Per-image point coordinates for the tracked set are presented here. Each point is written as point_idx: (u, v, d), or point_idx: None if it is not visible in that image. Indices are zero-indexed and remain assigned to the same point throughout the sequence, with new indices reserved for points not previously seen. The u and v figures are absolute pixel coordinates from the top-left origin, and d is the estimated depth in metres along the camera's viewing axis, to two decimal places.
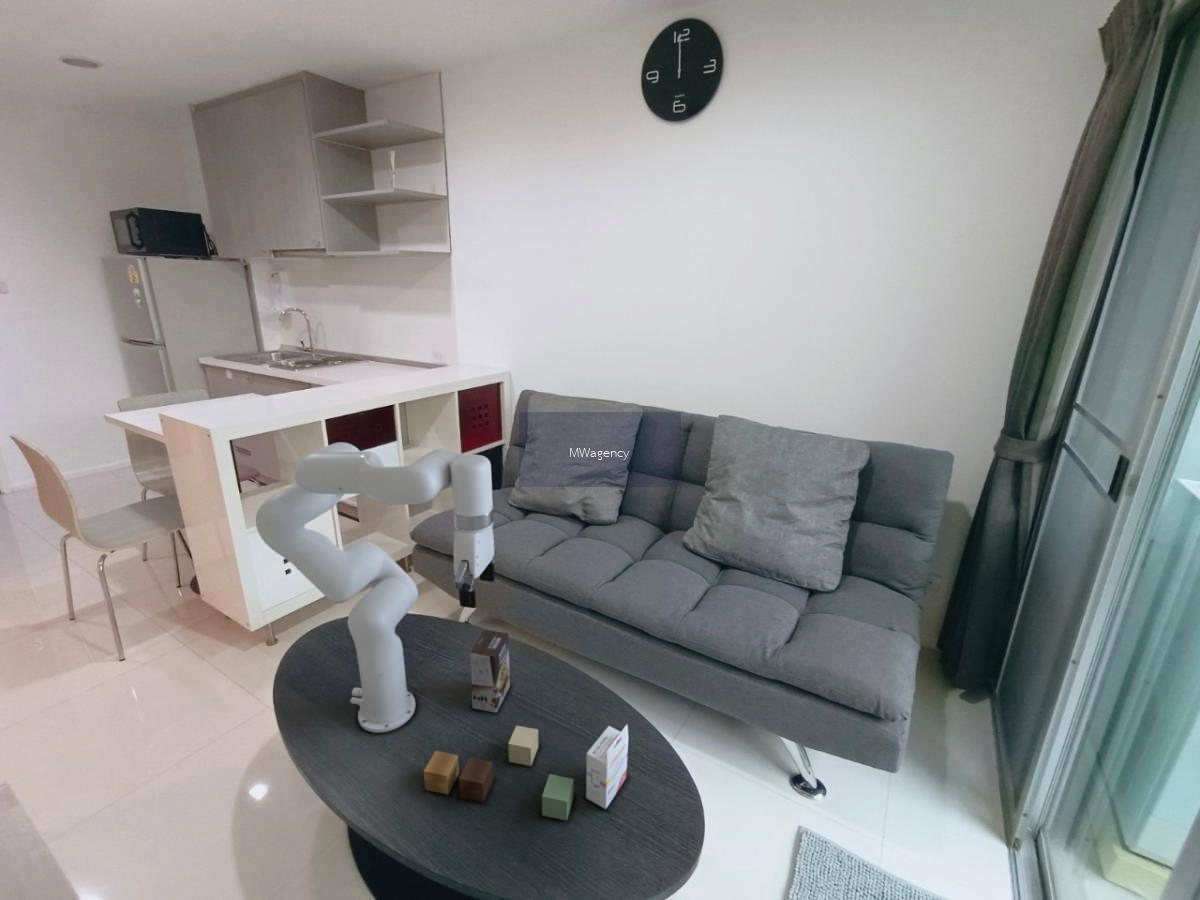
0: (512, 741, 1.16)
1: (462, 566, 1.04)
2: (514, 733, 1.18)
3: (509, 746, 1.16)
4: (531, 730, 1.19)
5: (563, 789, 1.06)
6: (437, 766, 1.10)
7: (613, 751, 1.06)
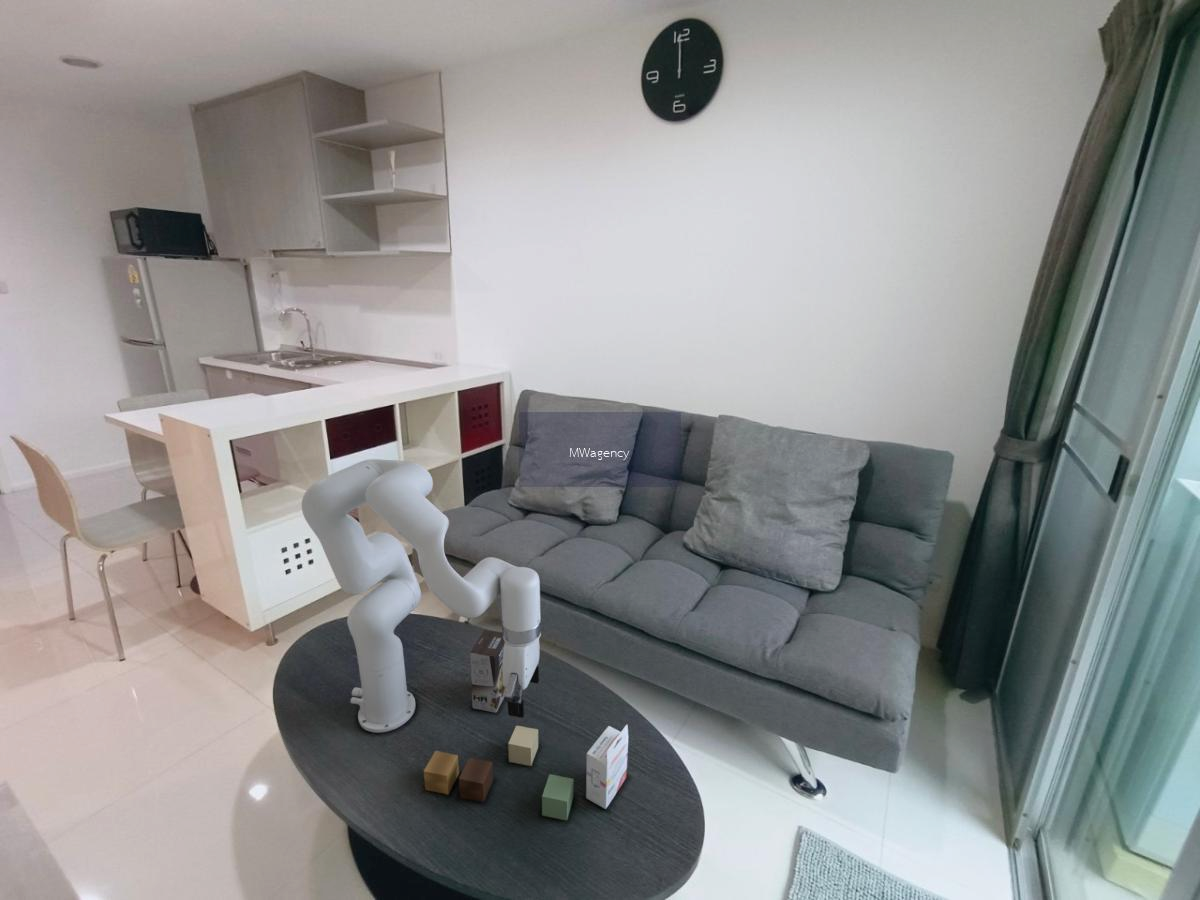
0: (512, 741, 1.16)
1: (512, 680, 1.06)
2: (514, 733, 1.18)
3: (509, 746, 1.16)
4: (531, 730, 1.19)
5: (563, 789, 1.06)
6: (437, 766, 1.10)
7: (613, 751, 1.06)
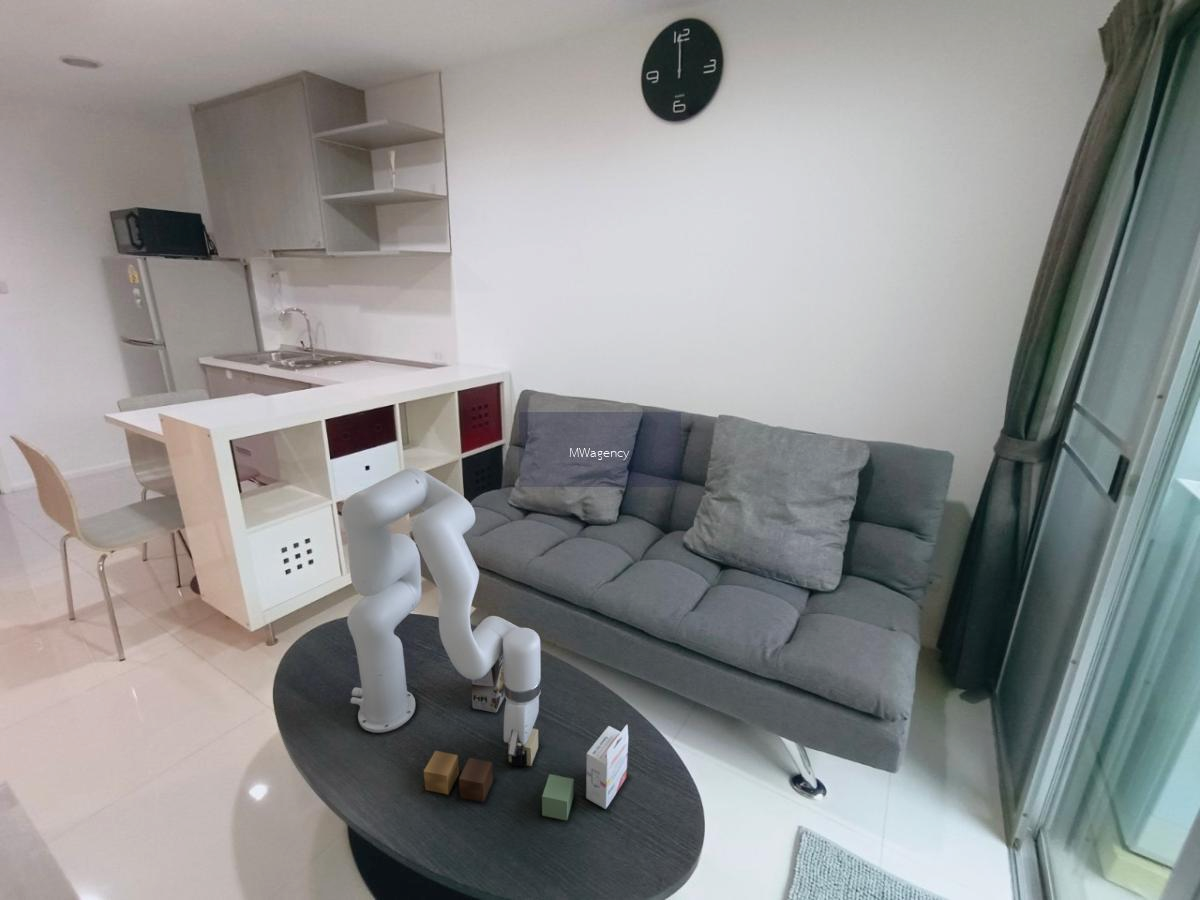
0: None
1: (513, 739, 1.11)
2: None
3: (509, 746, 1.16)
4: None
5: (563, 789, 1.06)
6: (437, 766, 1.10)
7: (613, 751, 1.06)
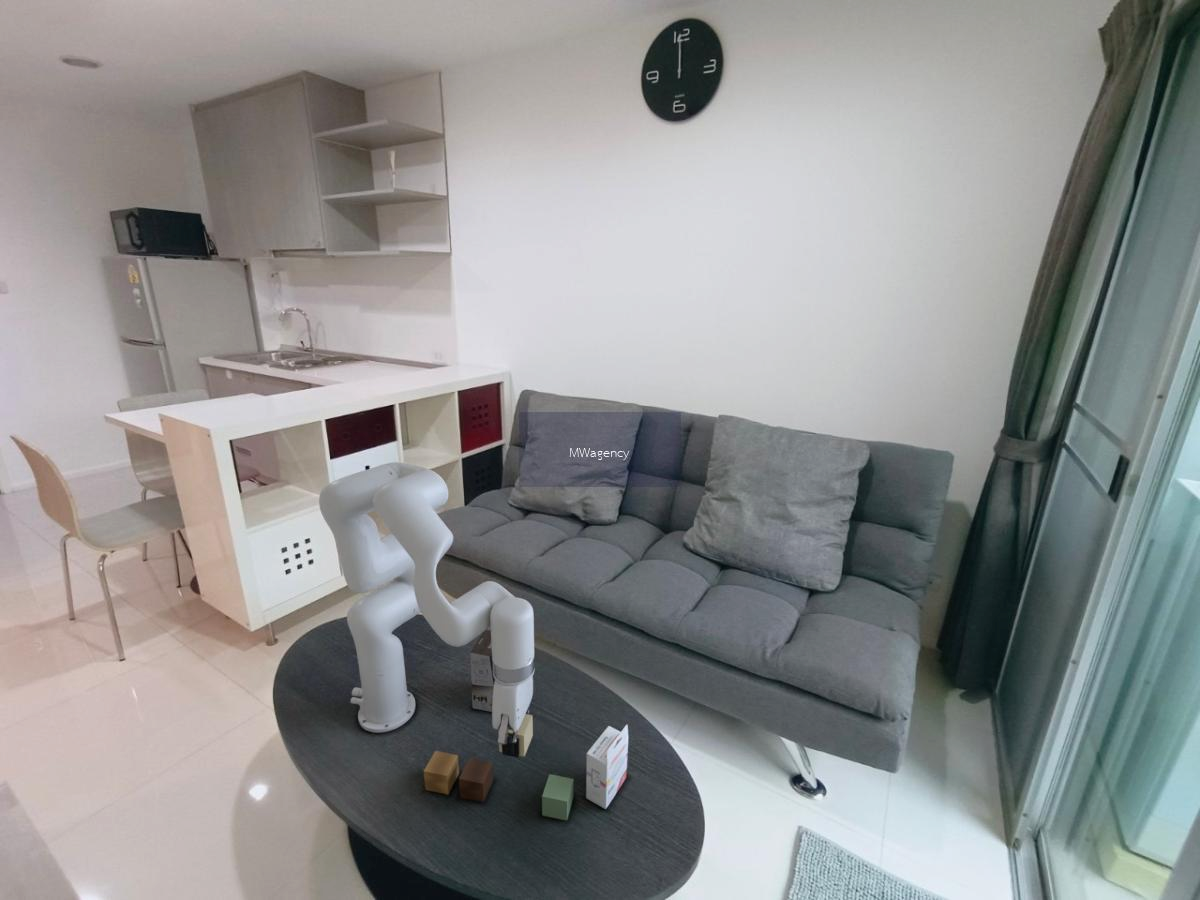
0: None
1: (503, 724, 0.97)
2: None
3: None
4: (525, 716, 1.05)
5: (563, 789, 1.06)
6: (437, 766, 1.10)
7: (613, 751, 1.06)
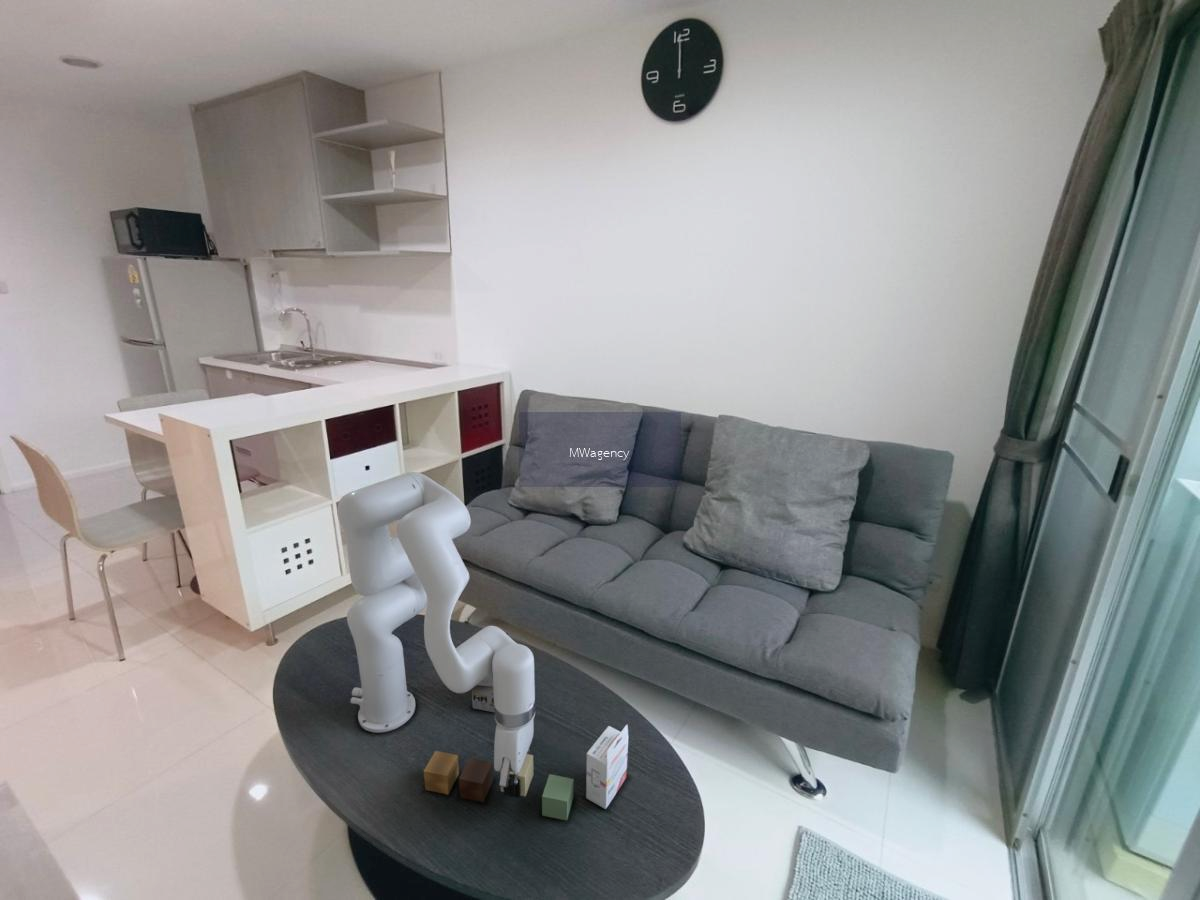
0: None
1: (505, 768, 1.00)
2: None
3: None
4: None
5: (563, 789, 1.06)
6: (437, 766, 1.10)
7: (613, 751, 1.06)
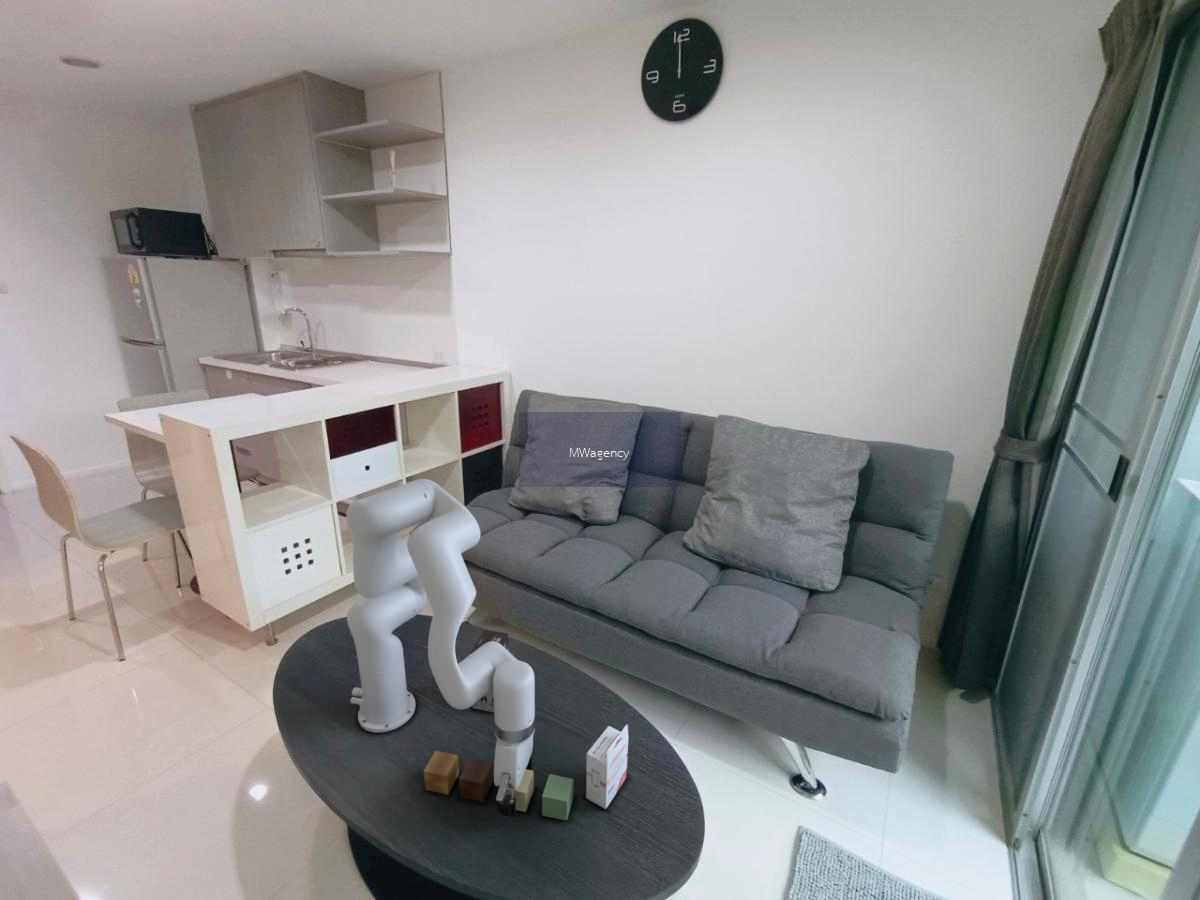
0: None
1: (504, 781, 1.00)
2: None
3: None
4: (526, 772, 1.10)
5: (563, 789, 1.06)
6: (437, 766, 1.10)
7: (613, 751, 1.06)
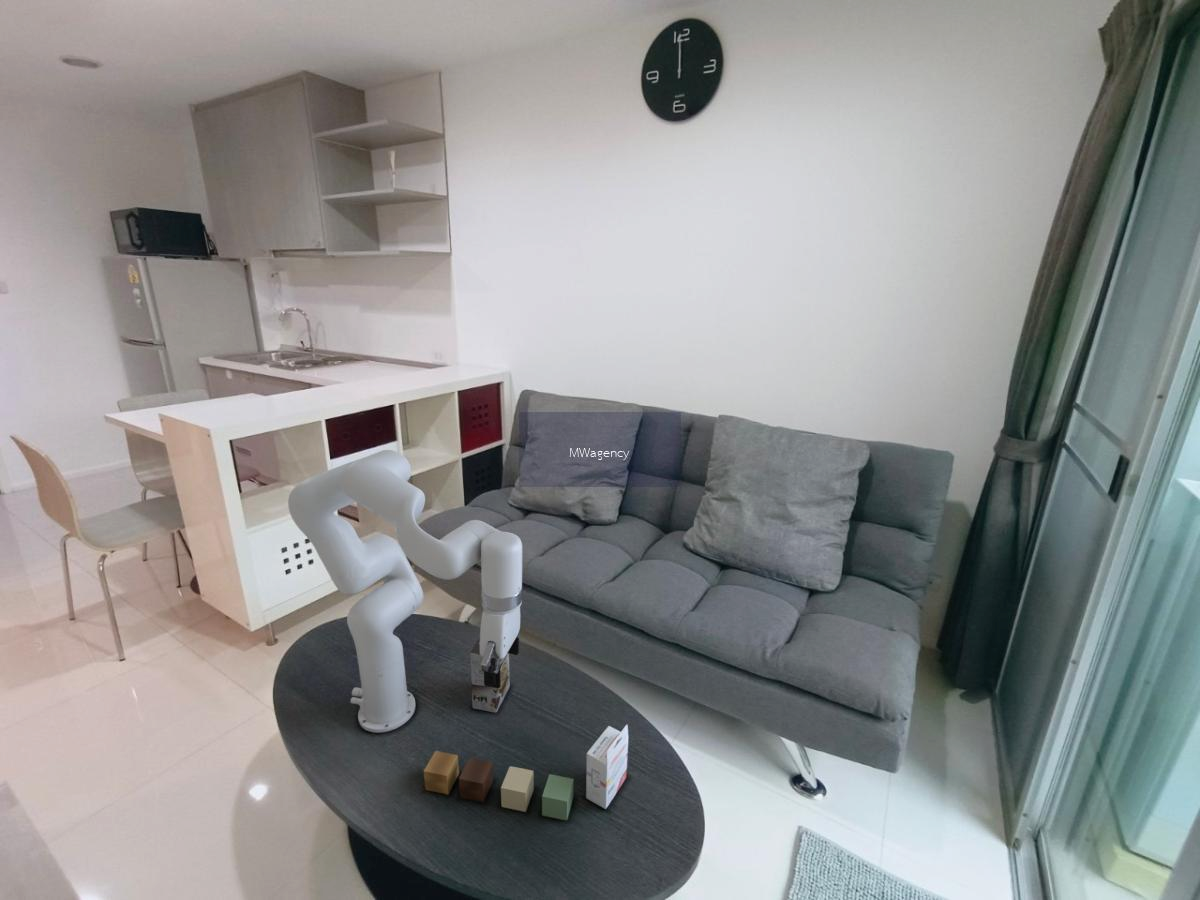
0: (505, 785, 1.07)
1: (489, 648, 1.01)
2: (507, 775, 1.09)
3: (502, 790, 1.06)
4: (526, 772, 1.10)
5: (563, 789, 1.06)
6: (437, 766, 1.10)
7: (613, 751, 1.06)
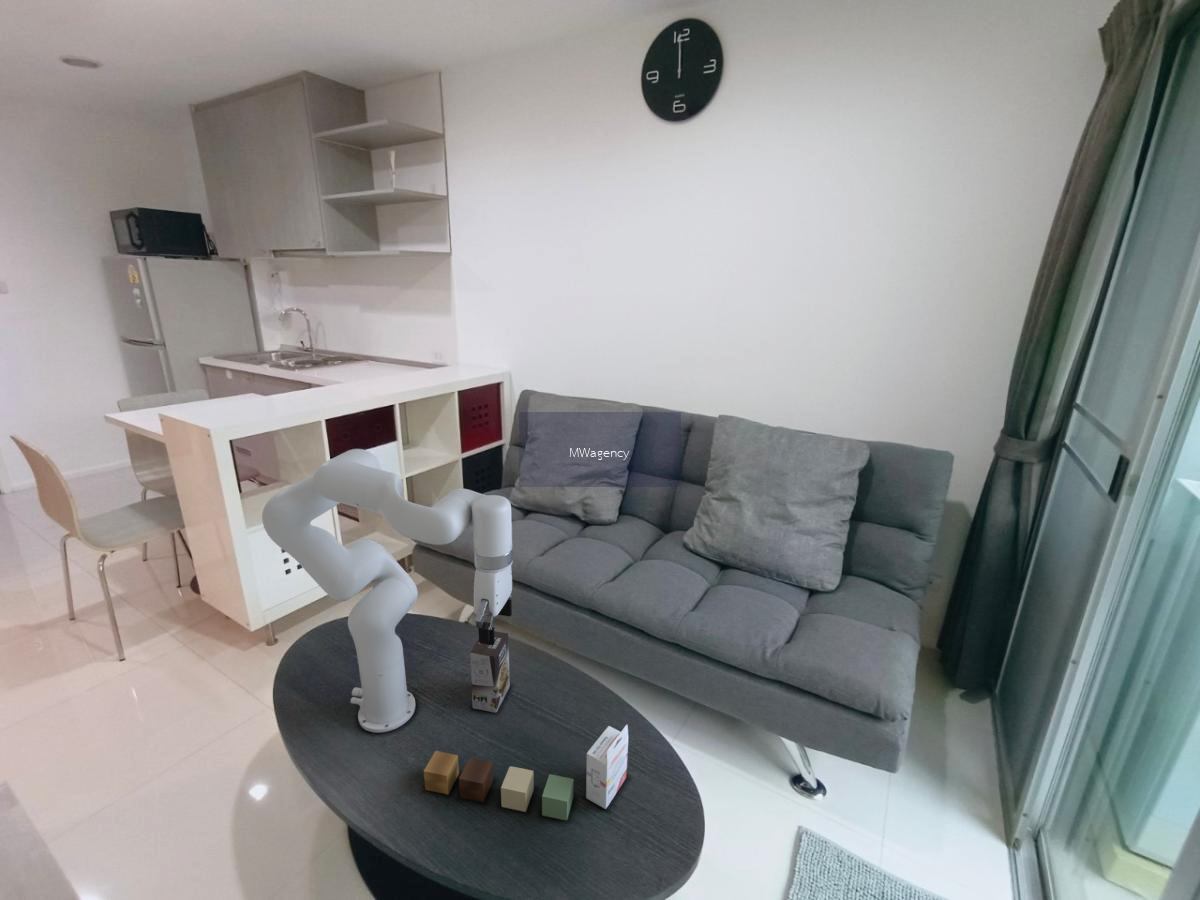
0: (505, 785, 1.07)
1: (482, 605, 1.06)
2: (507, 775, 1.09)
3: (502, 790, 1.06)
4: (526, 772, 1.10)
5: (563, 789, 1.06)
6: (437, 766, 1.10)
7: (613, 751, 1.06)
